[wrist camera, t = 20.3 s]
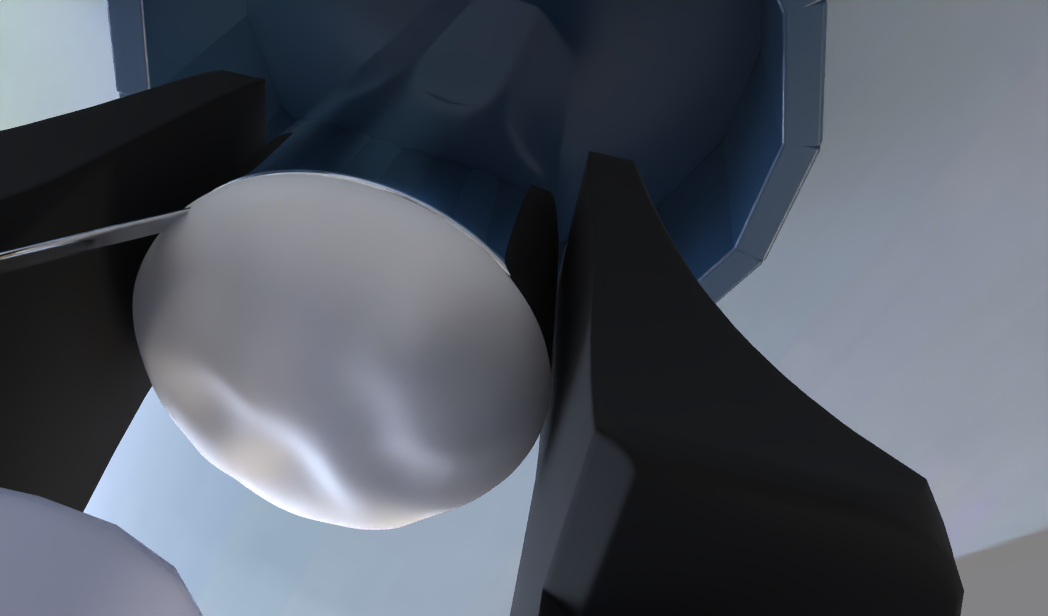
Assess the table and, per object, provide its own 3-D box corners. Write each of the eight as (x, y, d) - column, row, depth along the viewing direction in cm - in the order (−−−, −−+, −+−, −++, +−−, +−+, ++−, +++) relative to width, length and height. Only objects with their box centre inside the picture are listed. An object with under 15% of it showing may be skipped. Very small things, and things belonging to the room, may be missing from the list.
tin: (330, 269, 21) (264, 388, 18) (127, -251, 14) (-43, -223, 11) (788, 236, 19) (814, 367, 15) (796, -411, 12) (844, -438, 9)
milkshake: (479, -160, 13) (129, 113, 5) (663, 111, 15) (618, 592, 7) (290, 8, 15) (-153, 379, 7) (475, 223, 17) (285, 686, 9)
